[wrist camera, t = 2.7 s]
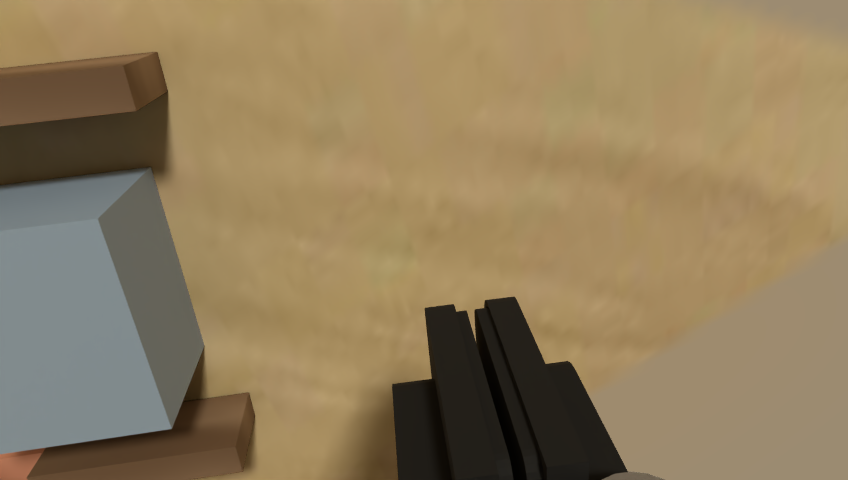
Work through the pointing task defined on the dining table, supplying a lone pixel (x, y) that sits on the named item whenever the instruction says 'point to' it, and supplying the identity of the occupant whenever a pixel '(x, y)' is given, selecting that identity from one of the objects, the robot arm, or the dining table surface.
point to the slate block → (90, 312)
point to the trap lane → (196, 420)
